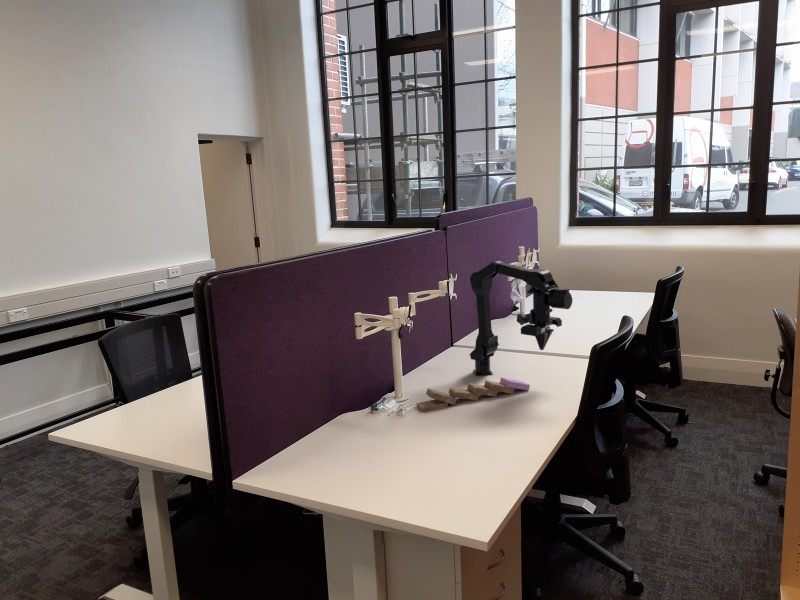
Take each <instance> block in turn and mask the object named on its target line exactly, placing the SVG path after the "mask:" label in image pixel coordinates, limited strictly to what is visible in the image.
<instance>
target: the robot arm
mask: <svg viewBox="0 0 800 600" xmlns="http://www.w3.org/2000/svg"><path fill="white" fill-rule="evenodd" d="M498 275H503V276H506V277H510V278H514V279H518V280H521V281H523V282H524V283H526V284H527V285H529V286H530V288H529V290H527V292H526V293H527V294H532V308H531V309H530V311H529V313H526V314H525V313H524V312H522V313H518V314H517V315H516V322H517V323H518V324H520V326H522V327H520V334H521V335H525V336H531V337H535V340H536V343H537V345H538V348H539V350H540V351H543V350H544V349H545V348H546V346H547V343H548V342H549V339H550V337H551V336H552V334H553V332H554V329H552V328H551V327H550V326H552V325H553V326H556V327H557V328H559V327H562V325H563V322H562V319H561V318H560V317H556V316H551V313H552V312H553V309H559V310H560V309H563V310H570V309H571V307H572V305H573V297H572V293H570V289H569V288H560V287H559V285H558V284H557V283H556V281H555V279H554V278H553V275H552V273H551V271H550V270H548V269H540V268H538V269H537V268H534V269H533V268H525V267H523V266H519V265H514V264H511V263H507V262H503V261H502V260H496V261H495V260H494V261H491V263H489V264H488V265H485V267H484V268H482V269H479V271H475V272H472V273H471V275H470V276H469V283H470V287H471V289H472V292H473V294H474V295H475V299H476V302H475V303H476V313H477V315H476V316H477V326H478V327H477V329H478V334H477V336H476V338H475V348H474V349H473V350H471V352H470V353H469V358H470V360H472V361H474V369H473V370H472V372H473V374H474V375H475V376H477V377H479V376H480V377H481V376H492V375H493V372H492V370H491V359H490V358H491V357H494V355H495V353H496V351H497V350H498V347H499V346H500V344H499V341H498V340H499V336H498V334H497V335H495V334H494V333H493V330H492V329H493V328H492V316H491V315H492V314H491V304H490V303H491V302H490V292H491V290H492V287H493V279H494V278H496V277H497V276H498Z"/></svg>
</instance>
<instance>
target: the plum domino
mask: <svg viewBox="0 0 800 600" xmlns="http://www.w3.org/2000/svg"><path fill="white" fill-rule="evenodd" d="M499 383H501V384H503V385H505V386H507V387H511V388H515V389H517V390H523V391H529V389H530V387H531V384H529V383H526V382H525V381H523V380H517V379H513V378H508V377H502V376H501V377H500V381H499Z"/></svg>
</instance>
